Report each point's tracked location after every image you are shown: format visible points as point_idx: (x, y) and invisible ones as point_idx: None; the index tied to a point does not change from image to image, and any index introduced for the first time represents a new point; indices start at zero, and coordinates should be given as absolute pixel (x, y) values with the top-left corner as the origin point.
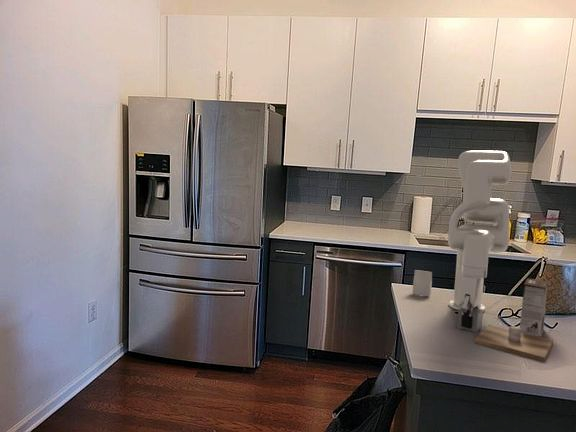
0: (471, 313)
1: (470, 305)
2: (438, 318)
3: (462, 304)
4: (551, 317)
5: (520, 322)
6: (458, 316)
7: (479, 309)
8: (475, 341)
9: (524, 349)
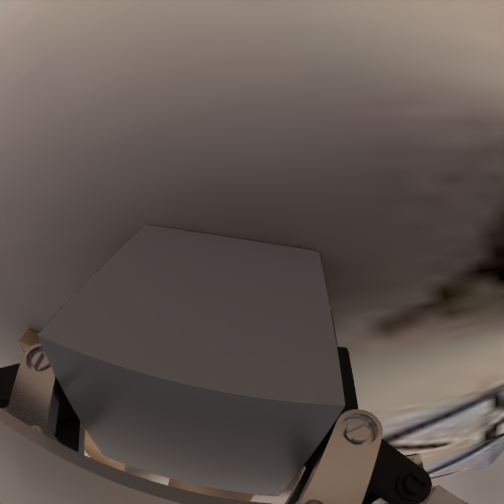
0: (59, 425)
1: (316, 468)
2: (303, 12)
3: (44, 439)
4: (491, 455)
5: None
6: (91, 285)
7: (262, 487)
8: (26, 335)
9: (96, 448)
